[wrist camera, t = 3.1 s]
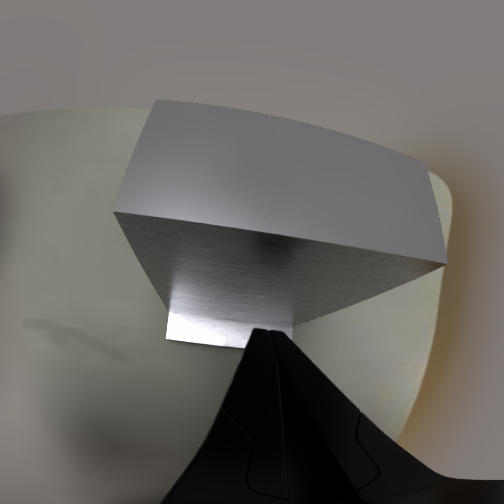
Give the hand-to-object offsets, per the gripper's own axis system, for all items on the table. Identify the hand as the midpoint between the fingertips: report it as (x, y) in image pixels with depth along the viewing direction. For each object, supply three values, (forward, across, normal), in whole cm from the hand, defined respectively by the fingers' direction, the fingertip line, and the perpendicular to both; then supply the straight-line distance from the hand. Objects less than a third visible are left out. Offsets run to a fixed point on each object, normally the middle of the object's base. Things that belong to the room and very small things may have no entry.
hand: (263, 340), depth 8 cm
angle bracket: (+7, 0, +3) cm, 7 cm away
